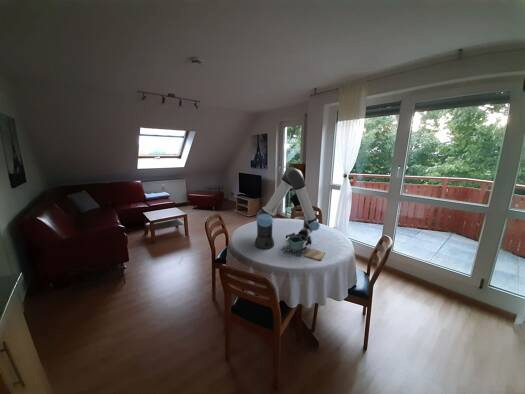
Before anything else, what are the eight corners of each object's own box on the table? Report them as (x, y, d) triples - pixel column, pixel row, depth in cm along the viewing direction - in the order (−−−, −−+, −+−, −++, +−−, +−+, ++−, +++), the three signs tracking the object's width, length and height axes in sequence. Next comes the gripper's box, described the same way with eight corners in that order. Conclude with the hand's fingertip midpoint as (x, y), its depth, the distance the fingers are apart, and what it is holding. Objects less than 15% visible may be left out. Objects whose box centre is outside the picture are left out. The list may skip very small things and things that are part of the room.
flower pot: (293, 254, 149) (294, 242, 147) (287, 248, 157) (287, 237, 155) (303, 252, 152) (304, 240, 150) (297, 246, 160) (297, 235, 158)
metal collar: (283, 251, 152) (283, 249, 152) (290, 244, 163) (290, 242, 163) (300, 256, 146) (301, 254, 145) (307, 248, 157) (307, 247, 157)
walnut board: (303, 256, 146) (303, 255, 146) (308, 249, 157) (308, 248, 156) (320, 260, 141) (320, 259, 140) (324, 253, 151) (325, 252, 151)
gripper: (319, 241, 163) (311, 253, 145) (289, 234, 175) (278, 244, 157) (319, 232, 161) (311, 243, 144) (289, 226, 173) (278, 235, 155)
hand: (294, 244), depth 150 cm, fingers open, 13 cm apart
